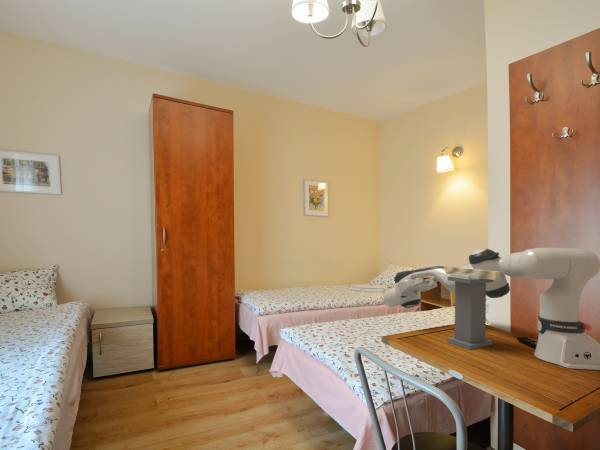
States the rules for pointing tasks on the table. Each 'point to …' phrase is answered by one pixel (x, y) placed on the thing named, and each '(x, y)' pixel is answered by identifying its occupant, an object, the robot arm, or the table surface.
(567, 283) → the robot arm
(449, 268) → the lath
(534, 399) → the table surface
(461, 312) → the stand
